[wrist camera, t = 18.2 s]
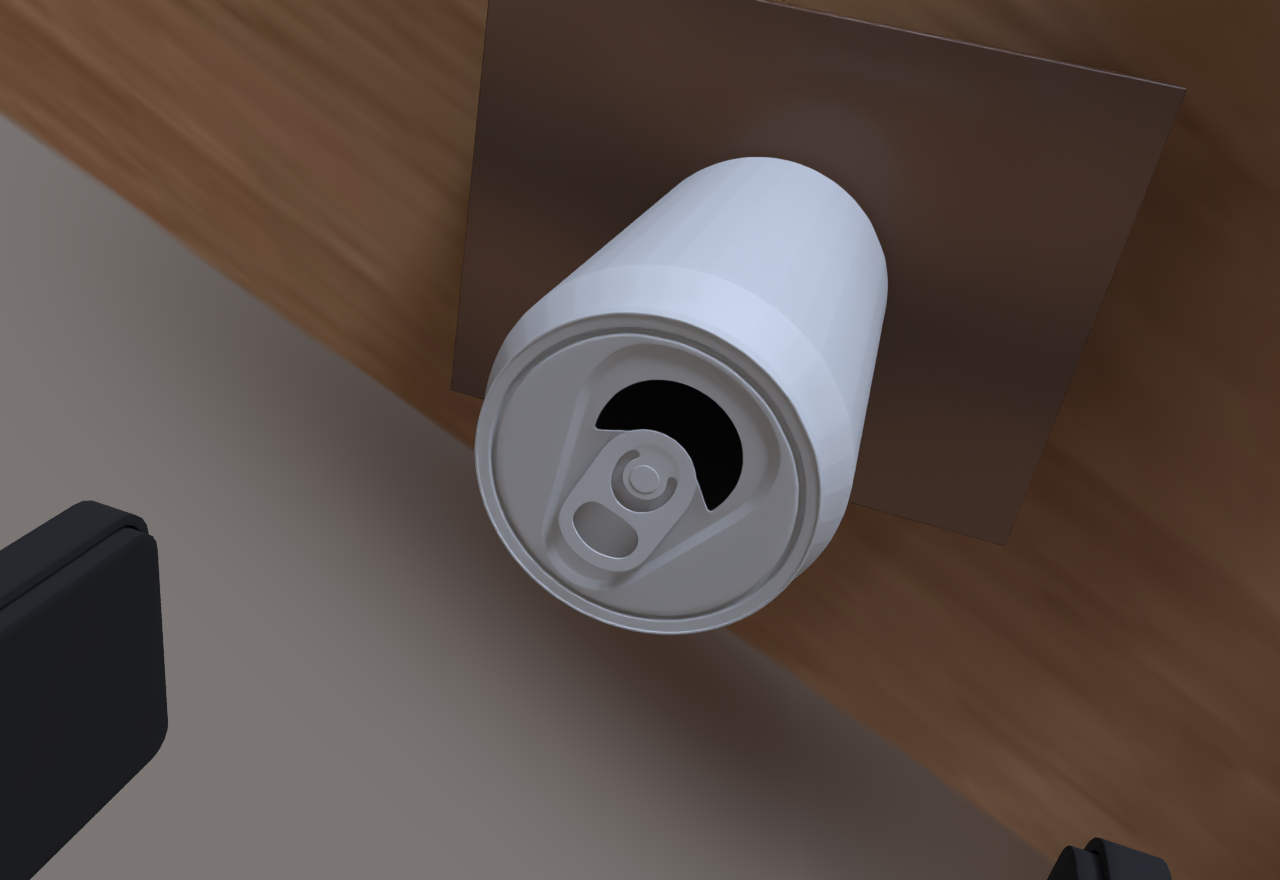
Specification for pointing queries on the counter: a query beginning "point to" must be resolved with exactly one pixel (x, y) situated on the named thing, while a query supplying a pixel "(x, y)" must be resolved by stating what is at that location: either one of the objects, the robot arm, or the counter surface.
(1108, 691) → the counter surface
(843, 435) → the beverage can
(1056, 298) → the chest lid
